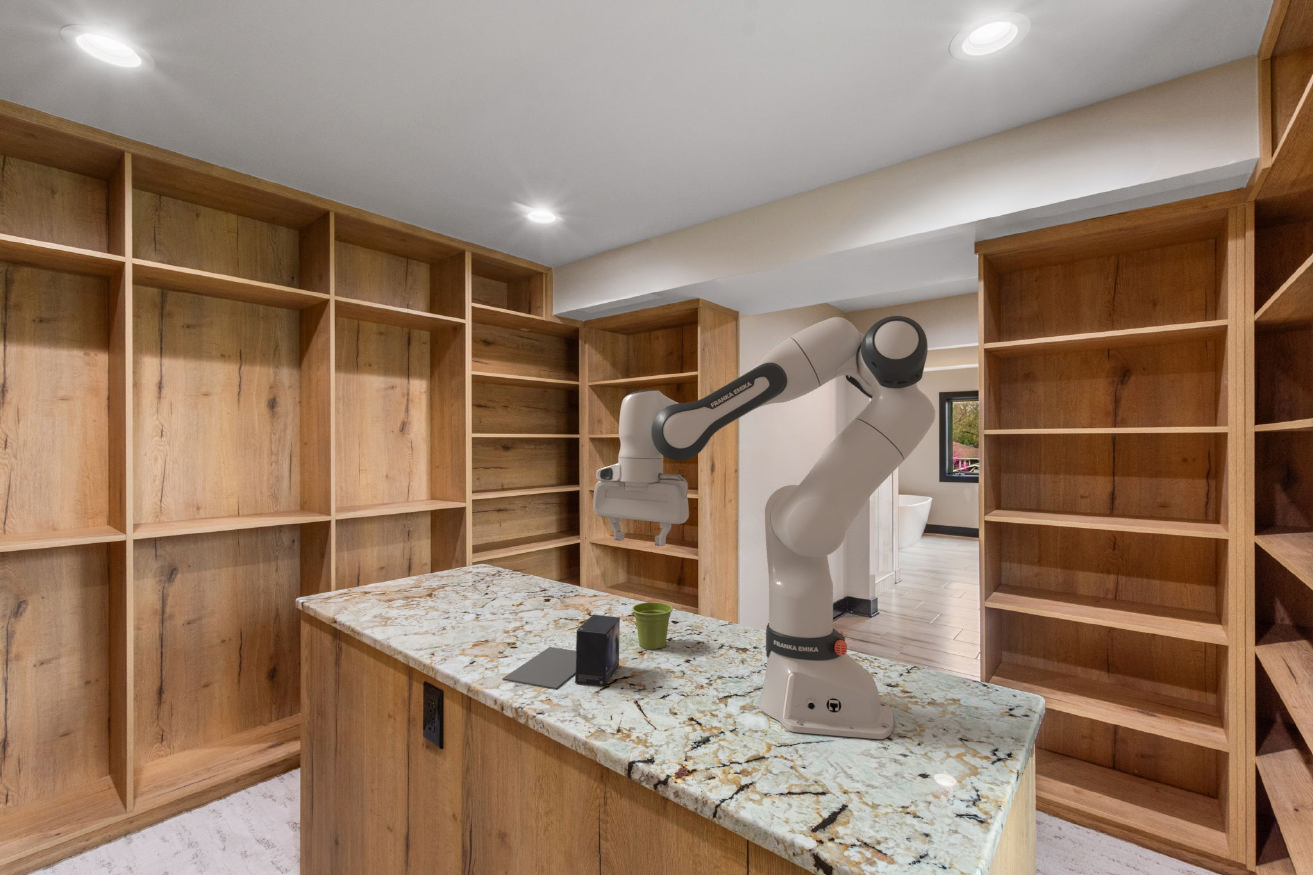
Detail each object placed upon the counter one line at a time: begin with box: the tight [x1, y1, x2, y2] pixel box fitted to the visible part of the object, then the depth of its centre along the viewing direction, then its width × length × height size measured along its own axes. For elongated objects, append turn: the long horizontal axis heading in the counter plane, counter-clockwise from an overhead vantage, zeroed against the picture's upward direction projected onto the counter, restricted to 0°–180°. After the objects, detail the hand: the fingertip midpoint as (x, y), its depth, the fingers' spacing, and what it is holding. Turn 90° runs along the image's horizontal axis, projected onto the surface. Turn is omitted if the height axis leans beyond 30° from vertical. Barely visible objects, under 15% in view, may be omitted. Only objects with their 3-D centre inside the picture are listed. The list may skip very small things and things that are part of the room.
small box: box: [574, 614, 621, 687], centre depth 114 cm, size 11×6×10 cm, turn 168°
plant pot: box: [631, 601, 674, 651], centre depth 131 cm, size 9×9×9 cm
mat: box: [501, 646, 576, 690], centre depth 118 cm, size 12×18×1 cm, turn 160°
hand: (639, 542), depth 112 cm, fingers open, 8 cm apart
